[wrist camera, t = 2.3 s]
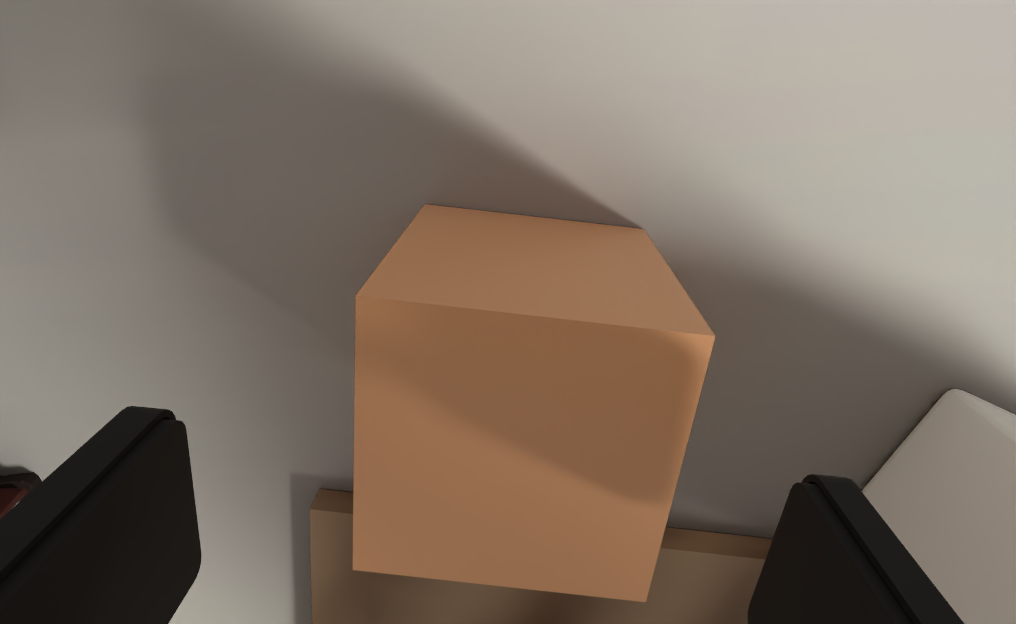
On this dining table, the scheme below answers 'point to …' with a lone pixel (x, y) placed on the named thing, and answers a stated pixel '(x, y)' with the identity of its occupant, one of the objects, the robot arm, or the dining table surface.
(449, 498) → the tan wooden cube
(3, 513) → the mate gourd
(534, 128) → the dining table surface
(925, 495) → the medicine bottle
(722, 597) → the base board
